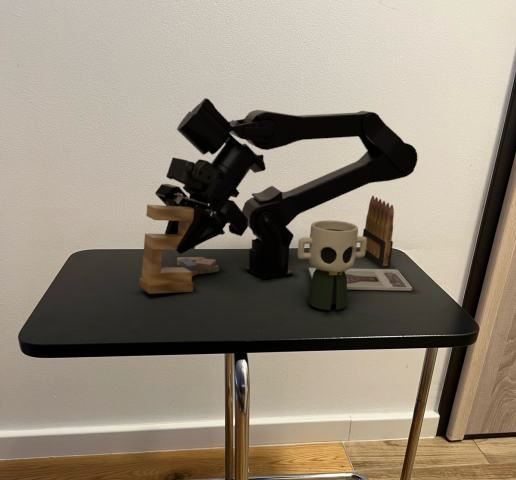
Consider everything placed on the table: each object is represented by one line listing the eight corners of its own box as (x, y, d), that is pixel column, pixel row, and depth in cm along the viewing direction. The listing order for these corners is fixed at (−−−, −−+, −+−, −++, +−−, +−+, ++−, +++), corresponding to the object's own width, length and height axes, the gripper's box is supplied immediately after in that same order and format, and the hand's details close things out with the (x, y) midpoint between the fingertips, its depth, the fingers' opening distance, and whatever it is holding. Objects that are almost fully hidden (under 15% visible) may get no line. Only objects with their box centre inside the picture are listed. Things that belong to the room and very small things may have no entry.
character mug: (299, 316, 83) (306, 232, 77) (288, 299, 89) (293, 220, 83) (367, 313, 85) (377, 231, 79) (351, 296, 91) (360, 219, 85)
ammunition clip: (360, 251, 115) (367, 194, 110) (368, 251, 116) (375, 194, 111) (381, 267, 106) (389, 205, 101) (389, 267, 107) (398, 205, 101)
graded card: (308, 267, 102) (397, 269, 103) (308, 270, 103) (397, 272, 103) (315, 285, 93) (412, 287, 94) (315, 288, 94) (411, 290, 94)
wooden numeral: (181, 284, 94) (189, 206, 89) (192, 291, 91) (201, 211, 86) (138, 286, 89) (144, 203, 84) (149, 294, 86) (155, 208, 81)
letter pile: (207, 263, 105) (206, 253, 104) (221, 273, 100) (221, 263, 99) (167, 269, 101) (166, 258, 100) (180, 279, 96) (180, 268, 95)
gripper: (163, 133, 90) (107, 207, 88) (236, 144, 78) (174, 230, 76) (201, 179, 98) (151, 247, 96) (272, 196, 86) (217, 274, 84)
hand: (170, 249), depth 88 cm, fingers closed on wooden numeral, 4 cm apart
